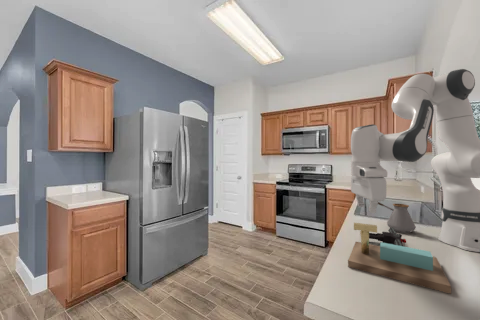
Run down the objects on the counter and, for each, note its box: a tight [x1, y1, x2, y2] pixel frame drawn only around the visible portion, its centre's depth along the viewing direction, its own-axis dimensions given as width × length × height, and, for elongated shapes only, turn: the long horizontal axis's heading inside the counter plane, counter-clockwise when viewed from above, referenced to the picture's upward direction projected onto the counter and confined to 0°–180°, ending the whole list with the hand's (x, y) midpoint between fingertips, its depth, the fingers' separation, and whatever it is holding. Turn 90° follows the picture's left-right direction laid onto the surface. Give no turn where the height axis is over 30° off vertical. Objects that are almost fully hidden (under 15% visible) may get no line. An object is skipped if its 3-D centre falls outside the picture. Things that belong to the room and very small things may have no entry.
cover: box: [379, 241, 434, 271], centre depth 68 cm, size 13×5×4 cm, turn 55°
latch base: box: [347, 241, 452, 294], centre depth 69 cm, size 24×20×2 cm
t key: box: [353, 222, 378, 254], centre depth 77 cm, size 8×7×10 cm
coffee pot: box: [364, 198, 416, 234], centre depth 108 cm, size 21×12×15 cm, turn 49°
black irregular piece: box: [369, 227, 407, 247], centre depth 87 cm, size 5×20×15 cm
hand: (366, 209), depth 74 cm, fingers open, 8 cm apart
